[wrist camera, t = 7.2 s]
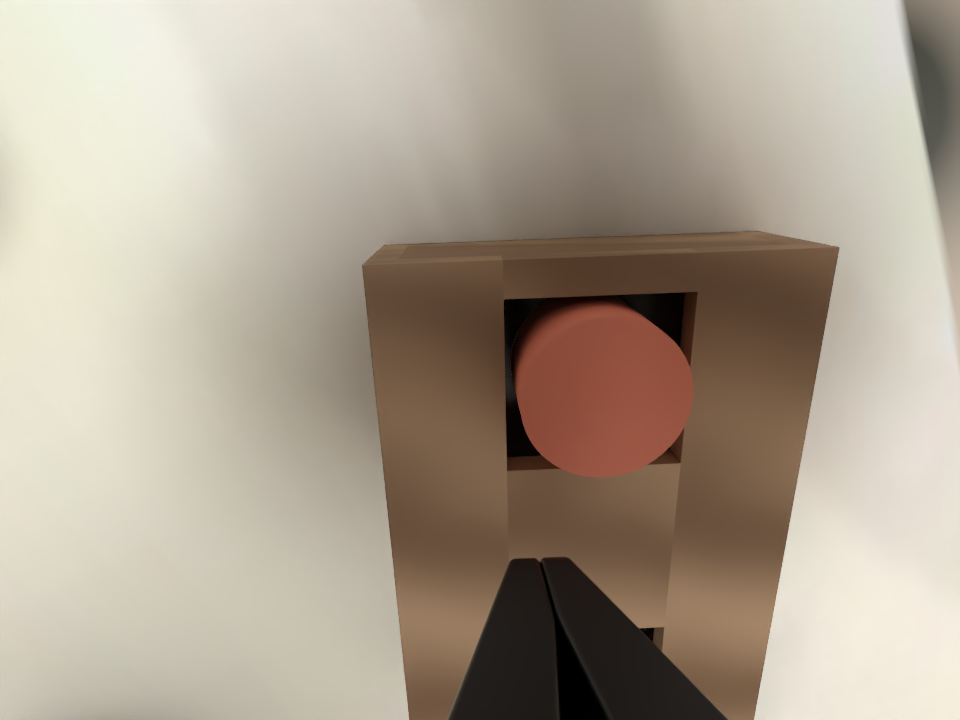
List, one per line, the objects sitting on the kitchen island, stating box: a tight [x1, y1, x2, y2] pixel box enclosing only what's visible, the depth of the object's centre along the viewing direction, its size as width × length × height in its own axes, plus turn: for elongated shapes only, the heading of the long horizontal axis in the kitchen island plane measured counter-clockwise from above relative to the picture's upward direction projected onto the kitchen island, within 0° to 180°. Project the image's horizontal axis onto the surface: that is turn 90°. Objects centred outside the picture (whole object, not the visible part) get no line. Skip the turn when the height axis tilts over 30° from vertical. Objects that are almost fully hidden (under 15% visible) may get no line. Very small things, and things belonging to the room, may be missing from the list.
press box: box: [362, 231, 839, 720], centre depth 18 cm, size 18×12×4 cm, turn 2°
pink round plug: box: [510, 295, 694, 477], centre depth 15 cm, size 4×4×3 cm
